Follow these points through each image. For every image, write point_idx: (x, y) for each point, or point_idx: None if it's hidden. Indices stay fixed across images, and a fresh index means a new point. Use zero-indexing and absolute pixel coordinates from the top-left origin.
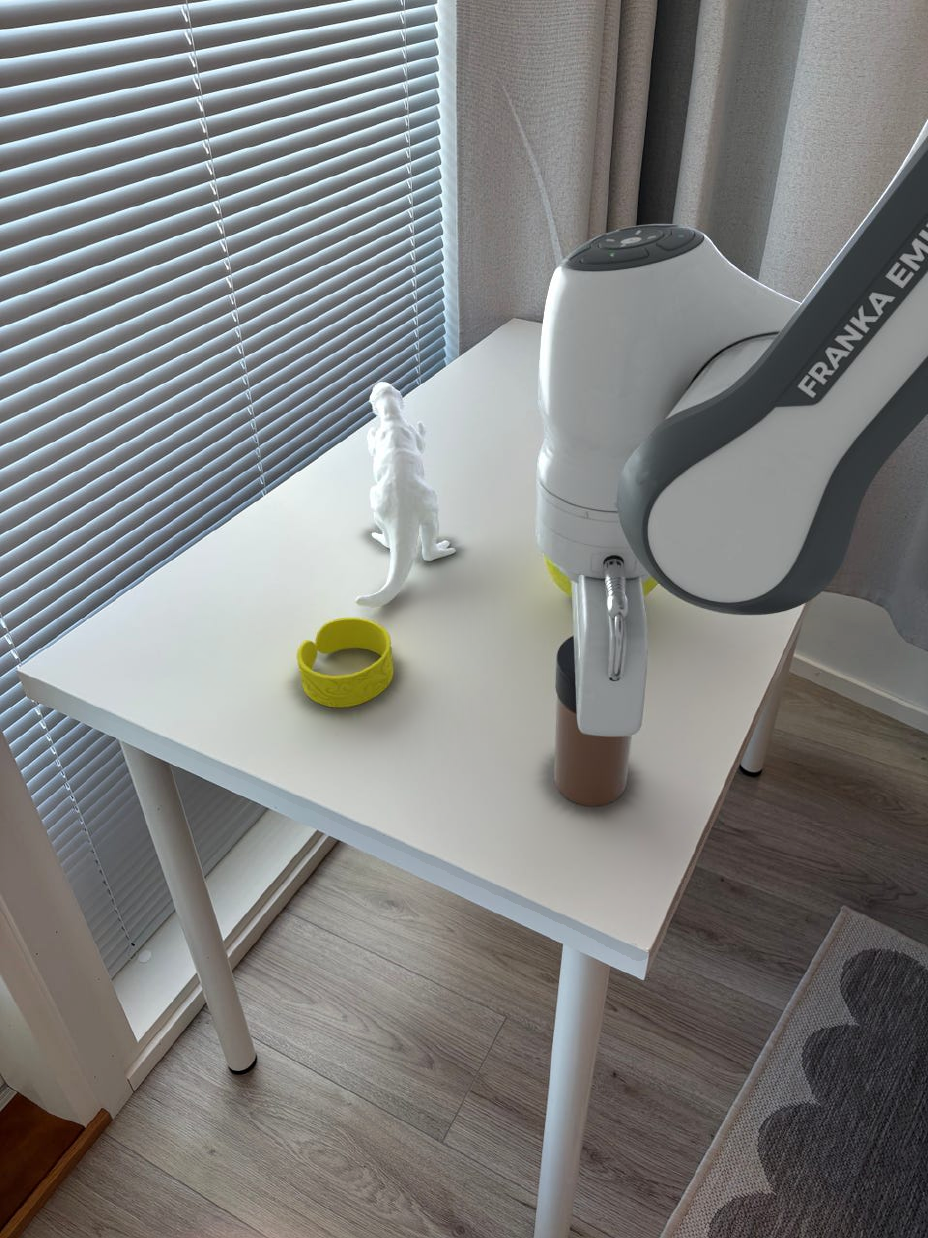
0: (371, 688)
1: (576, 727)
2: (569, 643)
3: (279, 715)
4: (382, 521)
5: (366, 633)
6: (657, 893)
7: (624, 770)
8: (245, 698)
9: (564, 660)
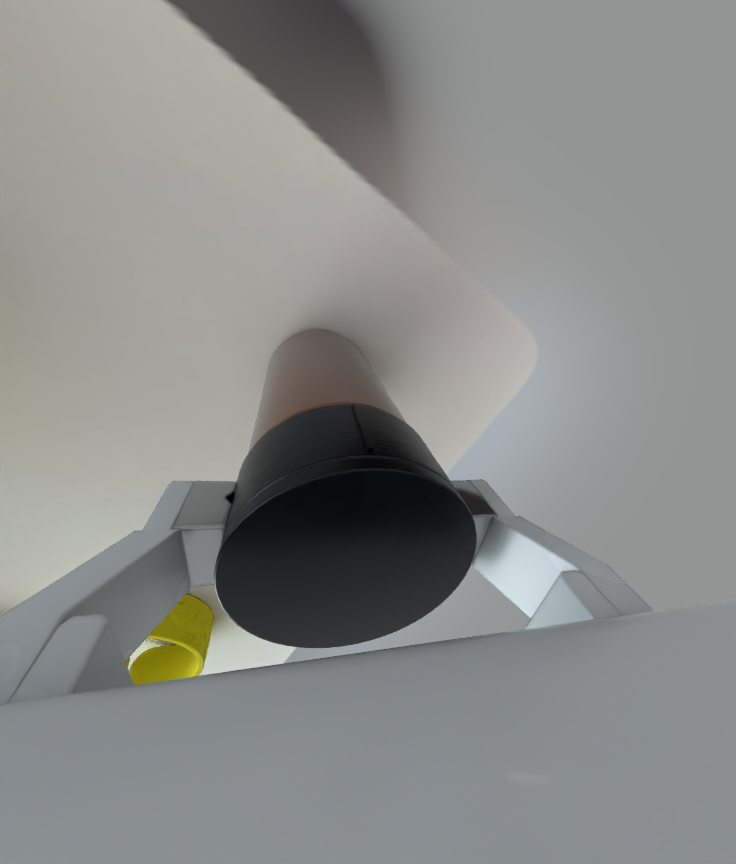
0: (189, 611)
1: None
2: (285, 634)
3: (230, 646)
4: None
5: None
6: (502, 324)
7: (359, 355)
8: (210, 668)
9: (355, 633)
